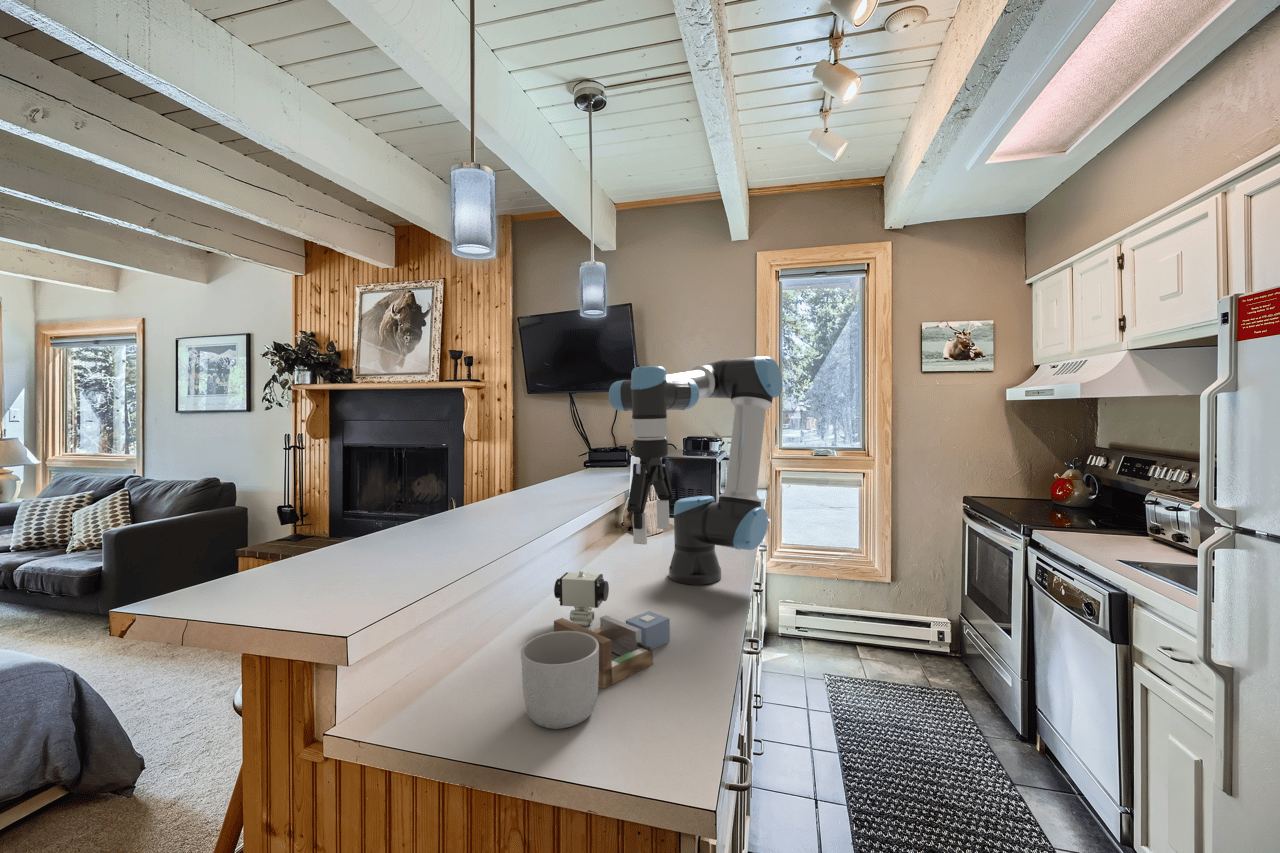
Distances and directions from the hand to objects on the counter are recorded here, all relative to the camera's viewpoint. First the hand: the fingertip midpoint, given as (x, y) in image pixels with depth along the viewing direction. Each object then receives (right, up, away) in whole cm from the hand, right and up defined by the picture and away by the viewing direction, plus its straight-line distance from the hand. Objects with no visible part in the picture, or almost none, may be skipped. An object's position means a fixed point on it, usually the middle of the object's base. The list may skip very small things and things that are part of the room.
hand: (652, 535), depth 114 cm
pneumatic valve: (-16, -22, +6) cm, 27 cm away
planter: (-15, -23, -30) cm, 40 cm away
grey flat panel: (-6, -21, -11) cm, 25 cm away
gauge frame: (-10, -22, -13) cm, 27 cm away
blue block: (-1, -22, -4) cm, 22 cm away
